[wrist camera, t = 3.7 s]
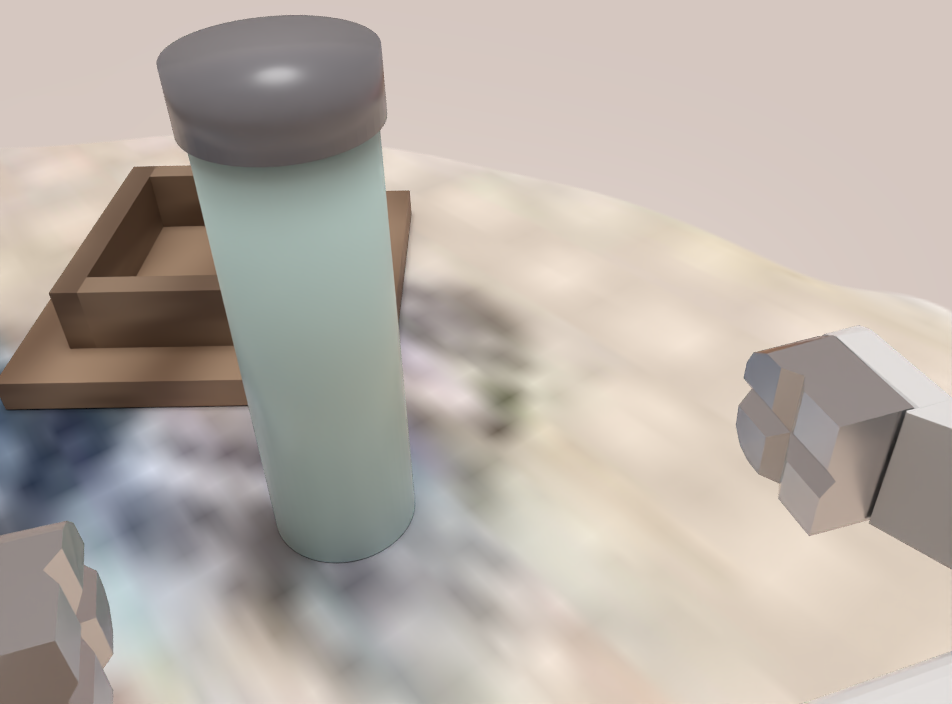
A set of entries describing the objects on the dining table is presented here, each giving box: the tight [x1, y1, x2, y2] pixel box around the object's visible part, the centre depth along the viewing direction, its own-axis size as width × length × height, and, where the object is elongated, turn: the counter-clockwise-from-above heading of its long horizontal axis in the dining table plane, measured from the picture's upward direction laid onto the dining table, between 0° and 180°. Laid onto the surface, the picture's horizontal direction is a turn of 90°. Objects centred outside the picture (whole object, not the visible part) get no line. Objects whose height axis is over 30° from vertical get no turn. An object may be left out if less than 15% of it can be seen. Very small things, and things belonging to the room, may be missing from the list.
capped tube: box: [157, 15, 415, 563], centre depth 24 cm, size 5×5×15 cm
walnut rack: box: [0, 166, 411, 409], centre depth 37 cm, size 14×14×4 cm
